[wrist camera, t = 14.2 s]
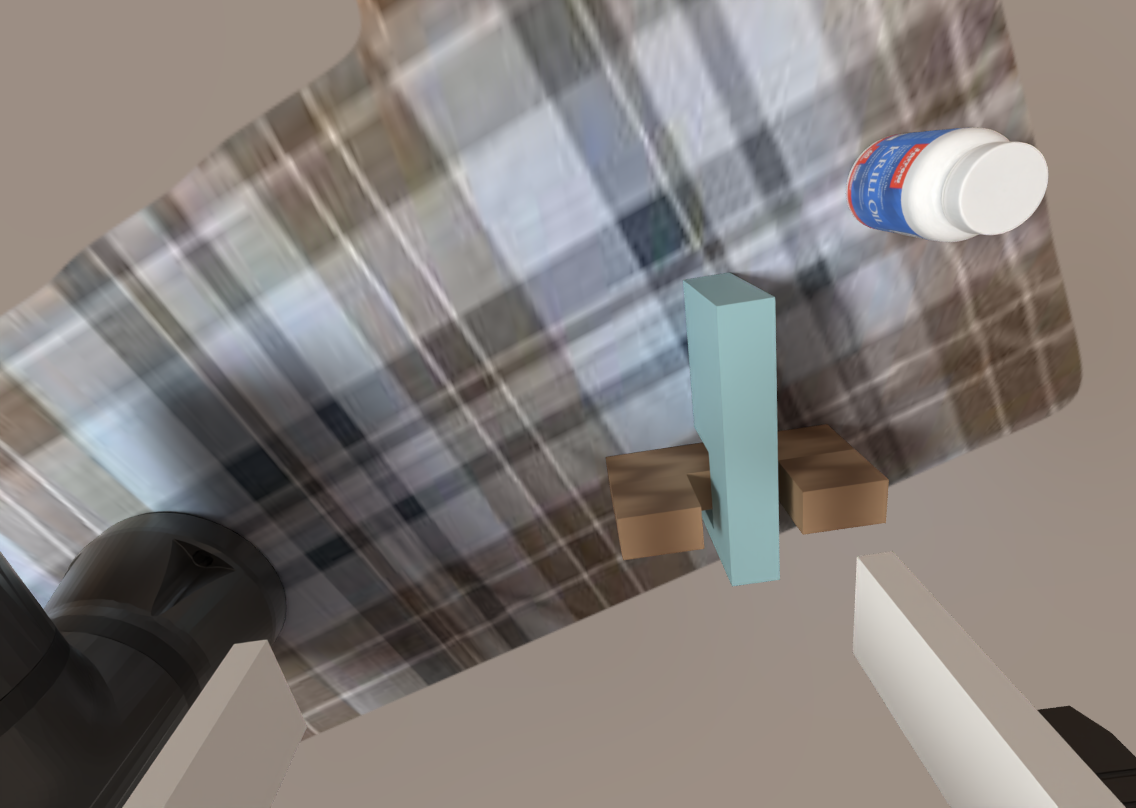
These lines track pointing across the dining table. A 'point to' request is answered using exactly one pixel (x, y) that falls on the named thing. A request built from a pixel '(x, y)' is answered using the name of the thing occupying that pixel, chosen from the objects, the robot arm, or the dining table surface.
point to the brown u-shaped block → (683, 489)
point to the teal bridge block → (737, 419)
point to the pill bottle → (947, 184)
